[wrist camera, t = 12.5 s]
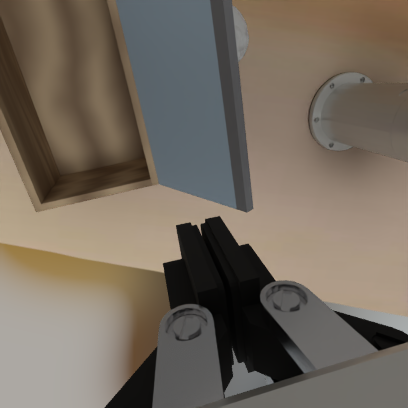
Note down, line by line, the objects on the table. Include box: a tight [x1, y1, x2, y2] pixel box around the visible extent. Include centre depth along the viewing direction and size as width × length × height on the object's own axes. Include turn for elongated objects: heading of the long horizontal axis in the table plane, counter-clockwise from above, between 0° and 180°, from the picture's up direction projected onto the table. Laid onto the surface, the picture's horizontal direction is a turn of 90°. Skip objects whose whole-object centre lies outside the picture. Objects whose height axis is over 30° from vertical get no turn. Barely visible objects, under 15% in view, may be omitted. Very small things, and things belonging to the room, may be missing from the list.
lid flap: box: [116, 0, 253, 212], centre depth 26 cm, size 14×24×1 cm
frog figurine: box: [232, 5, 249, 62], centre depth 39 cm, size 6×7×7 cm
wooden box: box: [0, 0, 159, 212], centre depth 35 cm, size 14×24×12 cm, turn 9°
